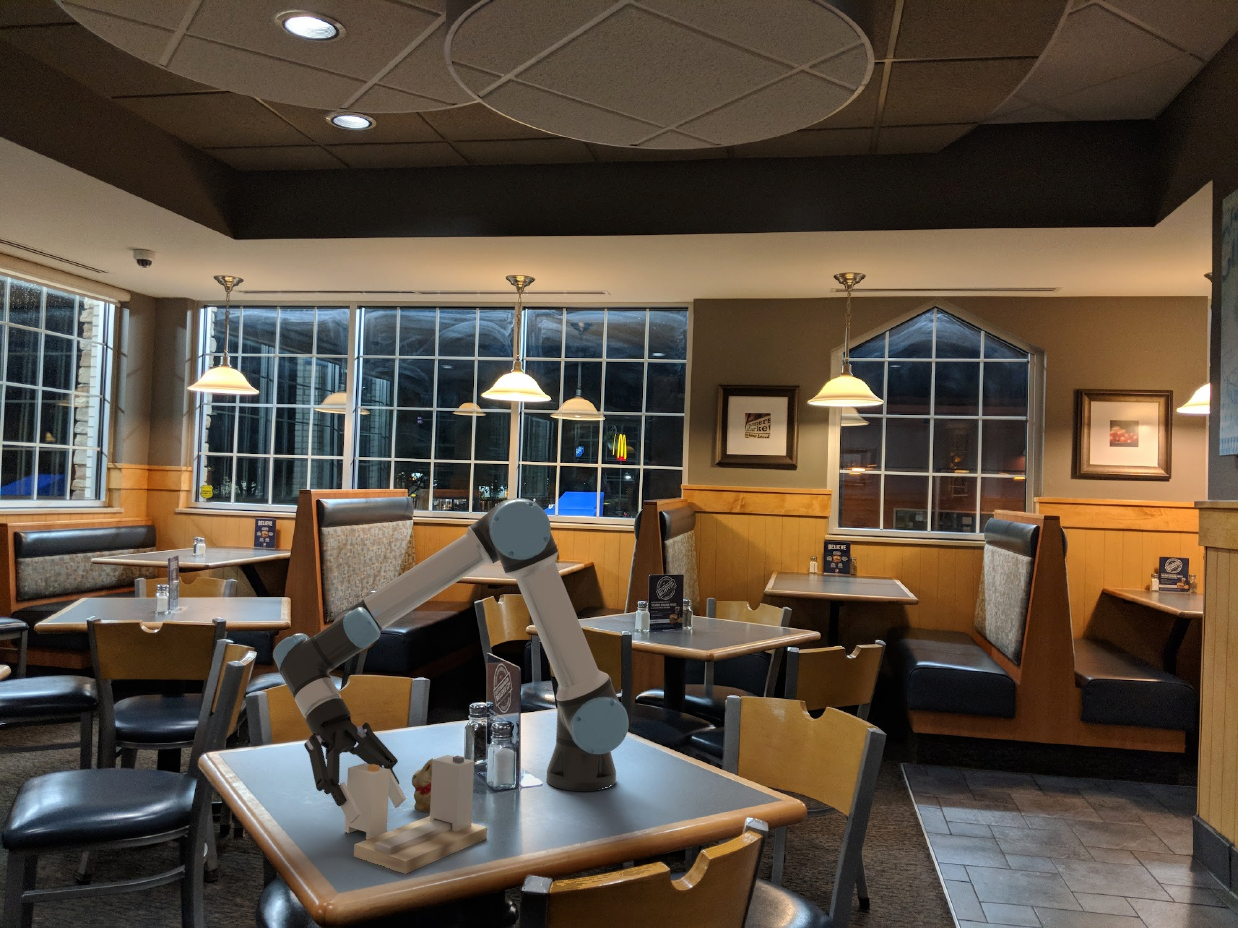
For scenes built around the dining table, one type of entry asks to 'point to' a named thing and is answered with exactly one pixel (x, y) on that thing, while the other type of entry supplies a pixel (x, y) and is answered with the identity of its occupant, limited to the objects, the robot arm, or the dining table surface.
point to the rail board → (417, 844)
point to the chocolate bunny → (423, 787)
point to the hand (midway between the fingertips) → (378, 810)
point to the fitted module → (452, 791)
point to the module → (369, 798)
